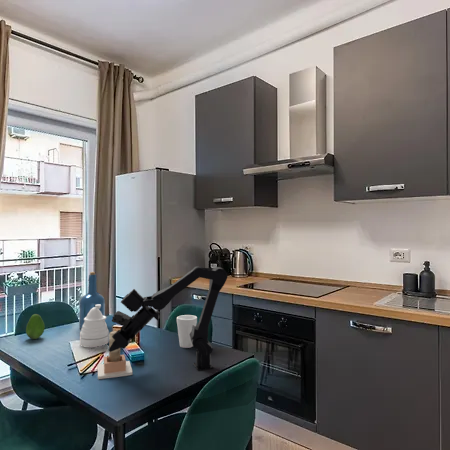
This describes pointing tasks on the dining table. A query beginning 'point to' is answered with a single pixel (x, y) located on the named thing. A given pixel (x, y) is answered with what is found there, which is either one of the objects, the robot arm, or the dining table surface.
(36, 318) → the fruit
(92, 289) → the wine bottle
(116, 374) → the tan box on base
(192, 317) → the foam cup
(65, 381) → the dining table surface
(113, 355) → the tan wooden cylinder
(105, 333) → the honey pot
